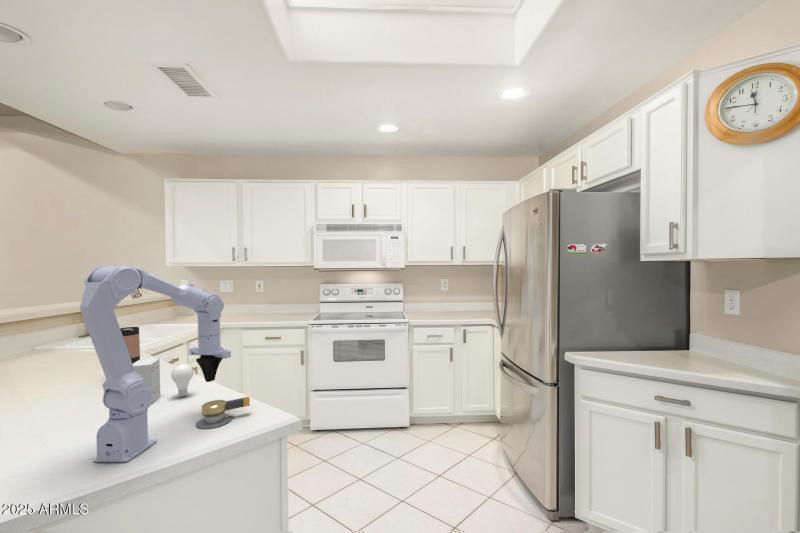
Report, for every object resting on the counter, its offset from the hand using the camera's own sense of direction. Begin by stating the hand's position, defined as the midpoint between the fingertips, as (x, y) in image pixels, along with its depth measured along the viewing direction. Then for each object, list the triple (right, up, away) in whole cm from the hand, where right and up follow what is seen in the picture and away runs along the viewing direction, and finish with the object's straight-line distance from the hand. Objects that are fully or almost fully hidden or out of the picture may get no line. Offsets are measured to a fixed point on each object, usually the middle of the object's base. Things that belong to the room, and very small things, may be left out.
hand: (210, 380), depth 103 cm
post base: (+4, -10, -5) cm, 12 cm away
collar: (+7, -7, -4) cm, 10 cm away
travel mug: (-52, -11, +36) cm, 65 cm away
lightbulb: (-17, -10, +15) cm, 25 cm away
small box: (-27, -11, +11) cm, 31 cm away
